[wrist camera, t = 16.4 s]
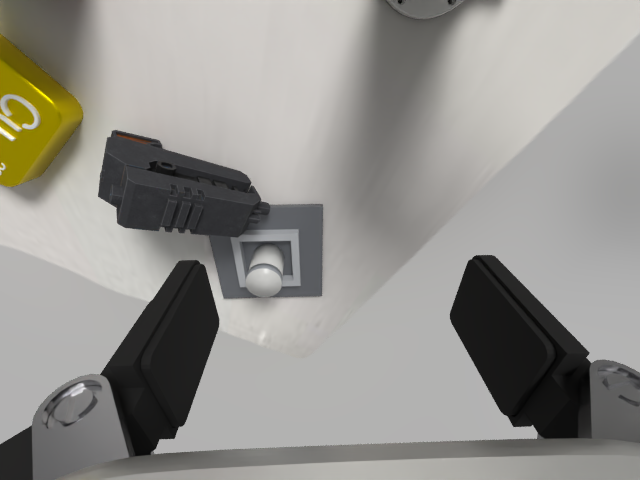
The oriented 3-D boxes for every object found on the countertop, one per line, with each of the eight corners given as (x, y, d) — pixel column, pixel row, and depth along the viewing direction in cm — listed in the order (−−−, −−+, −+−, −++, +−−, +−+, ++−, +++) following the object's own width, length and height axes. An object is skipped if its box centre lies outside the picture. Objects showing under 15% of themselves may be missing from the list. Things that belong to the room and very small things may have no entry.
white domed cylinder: (284, 243, 46) (281, 268, 40) (285, 269, 48) (282, 297, 42) (251, 243, 45) (243, 269, 39) (254, 269, 48) (247, 297, 42)
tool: (105, 110, 33) (105, 175, 24) (251, 157, 46) (288, 211, 37) (97, 156, 36) (95, 230, 27) (238, 188, 48) (269, 246, 39)
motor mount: (322, 204, 43) (323, 211, 41) (321, 292, 53) (322, 301, 50) (204, 205, 43) (199, 212, 41) (225, 294, 52) (221, 304, 50)
